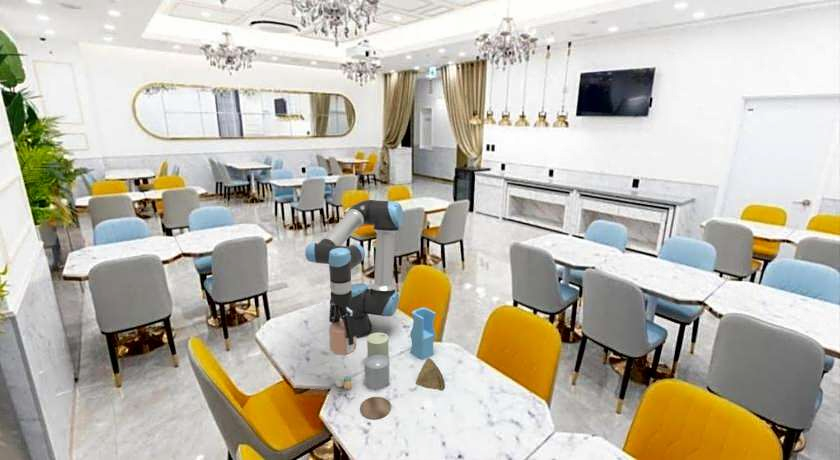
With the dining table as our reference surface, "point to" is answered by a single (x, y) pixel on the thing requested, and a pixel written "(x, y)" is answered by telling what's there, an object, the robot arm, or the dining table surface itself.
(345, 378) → the marble teal
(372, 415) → the coaster
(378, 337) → the can
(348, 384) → the marble amber
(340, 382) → the marble white
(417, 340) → the blue notched block
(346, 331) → the robot arm
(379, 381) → the cup grey
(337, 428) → the dining table surface
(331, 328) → the cup terracotta
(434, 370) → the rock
